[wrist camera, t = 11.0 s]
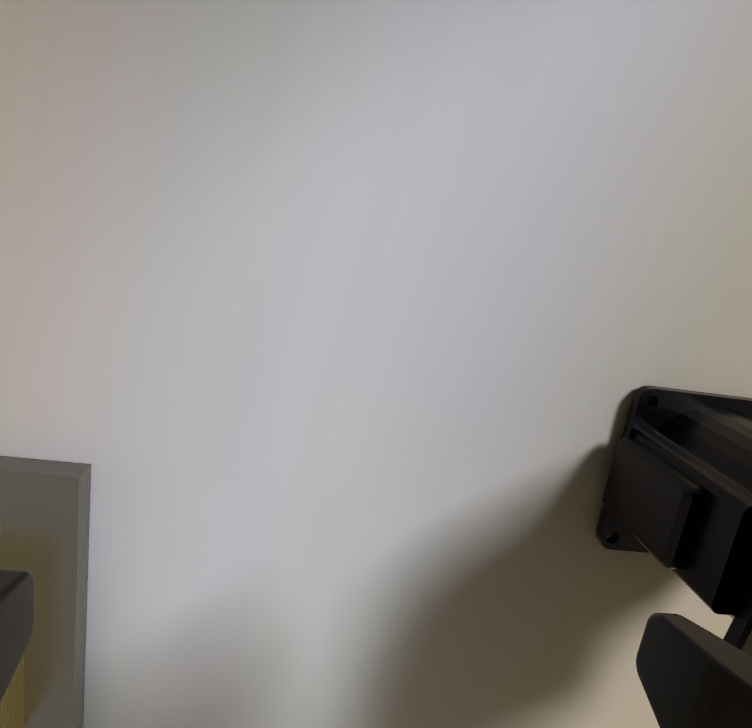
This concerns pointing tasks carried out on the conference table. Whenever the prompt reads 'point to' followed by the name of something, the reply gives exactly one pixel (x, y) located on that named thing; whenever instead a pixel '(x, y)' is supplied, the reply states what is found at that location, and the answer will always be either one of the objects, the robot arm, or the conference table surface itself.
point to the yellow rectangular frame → (14, 701)
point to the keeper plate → (50, 579)
